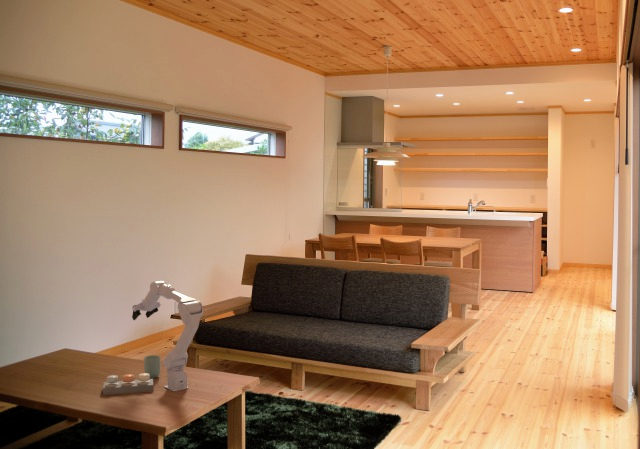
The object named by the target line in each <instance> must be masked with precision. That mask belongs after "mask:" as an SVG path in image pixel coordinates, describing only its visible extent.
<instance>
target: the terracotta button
mask: <svg viewBox="0 0 640 449" xmlns="http://www.w3.org/2000/svg"><path fill="white" fill-rule="evenodd" d="M134 376H135V374H132V373H129V374H123V375H122V381H123V382H133V381H134V380H135V377H134Z"/></svg>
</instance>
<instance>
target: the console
mask: <svg viewBox="0 0 640 449" xmlns="http://www.w3.org/2000/svg"><path fill="white" fill-rule="evenodd" d="M148 392H149V393H150V392H154V378H150V380H148V381H139V379H134V381H133V382H123V380H118V382H117V383H112V384H110V383H107V381H103V386H102V395H103V396H107V395H109V396H110V395H120V394H136V393H148Z"/></svg>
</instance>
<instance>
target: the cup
mask: <svg viewBox="0 0 640 449" xmlns="http://www.w3.org/2000/svg"><path fill="white" fill-rule="evenodd" d="M161 360H162V358H161V356H160V355H153V354H152V355H147V356H146V355H145V356H144V358H143V369H144V370H143V372H144V373H148V374H150V379H157V378H159V376H160V375H161V369H162V366H161V364H162V363H161V362H162V361H161Z"/></svg>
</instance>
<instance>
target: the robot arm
mask: <svg viewBox="0 0 640 449" xmlns="http://www.w3.org/2000/svg"><path fill="white" fill-rule="evenodd" d="M161 297H163V298H165V299H167V300H174V301H175V302H176V303H177V309H178V310H177V311H178V314H179V316H180V319H181V321H182V323H183V325H184V328H183V330H182V332H181V334H180V336H179V337H178V340H177V342H176V343H175V346H174V348H173V349H172V350H171V351H169V352H167V354H166V356H164V358H163V361H162V362H163V366H164V368H165V369H166V371H167V374H166V375H167V376H166V377H167V385H164V386H163V388H166V390H167V389H168V390H170V391H172V392H179V391H182V390H183V391H184V390H186V389H189V388H190V387H189V386H188V374H187V372H186V371H185V370H184V369H185V366H186V365H187V363H188V358H189V355H188V352H187V351H188V348H189V347H190V344H191V342H192V340H193V339H194V337H195V334H196V333H197V331H198V329H199V326H200V320H201V318H202V316H203V314H204V307H203V304H202V302H201V301H200V300H197V299H196V298H194V297H190V296H187V295H185V294H182V293H180V292H177V291H176V289H175V288H174V287H173V286H172V285H171V284H167V282H166V281H164V280H159V281H152V282H150V285H149V291H148V293H147V294H146V296H145V297H144V298H143V299H142V300H141V302H140V303H138V304H135V305H132V308H131V309H132V316H131V318H132V319H133V321H136V320H137V319H138V318H139V316H141V315H142V313H141V311H142V312H143V311H144V312H145V316H146V318H147V319H149V318H150V317H152V316H153V315H155V313H158V312H159V308H160V307H161V305H162V304H161V303H160V301H159V299H160V298H161Z"/></svg>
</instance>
